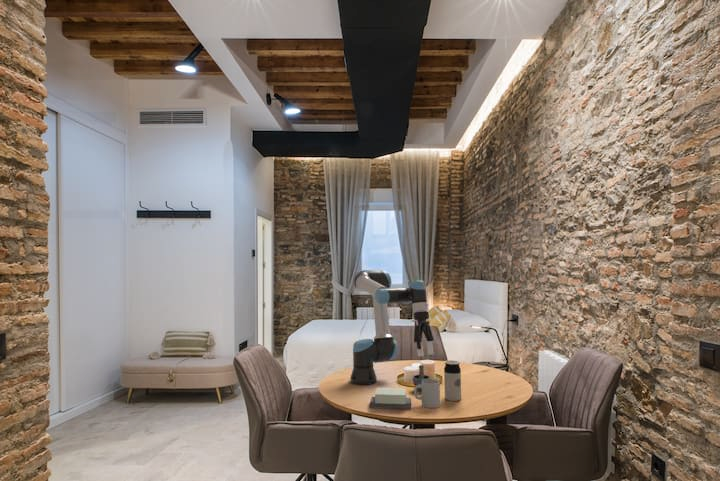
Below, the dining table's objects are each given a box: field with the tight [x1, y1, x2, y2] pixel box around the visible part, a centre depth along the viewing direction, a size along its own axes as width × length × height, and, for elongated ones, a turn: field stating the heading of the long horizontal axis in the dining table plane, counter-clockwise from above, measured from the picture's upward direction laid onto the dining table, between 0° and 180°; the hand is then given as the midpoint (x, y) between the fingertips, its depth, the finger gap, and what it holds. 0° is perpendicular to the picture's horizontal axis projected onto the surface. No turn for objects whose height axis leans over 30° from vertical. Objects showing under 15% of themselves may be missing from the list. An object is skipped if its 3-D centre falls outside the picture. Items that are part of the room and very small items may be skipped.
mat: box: [369, 396, 412, 410], centre depth 192 cm, size 8×19×2 cm, turn 83°
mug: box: [413, 378, 441, 409], centre depth 192 cm, size 12×8×11 cm
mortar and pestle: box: [412, 364, 432, 393], centre depth 217 cm, size 11×9×12 cm
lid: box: [374, 387, 407, 404], centre depth 192 cm, size 11×14×4 cm
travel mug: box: [443, 359, 462, 402], centre depth 201 cm, size 8×8×18 cm
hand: (425, 355), depth 198 cm, fingers open, 13 cm apart
